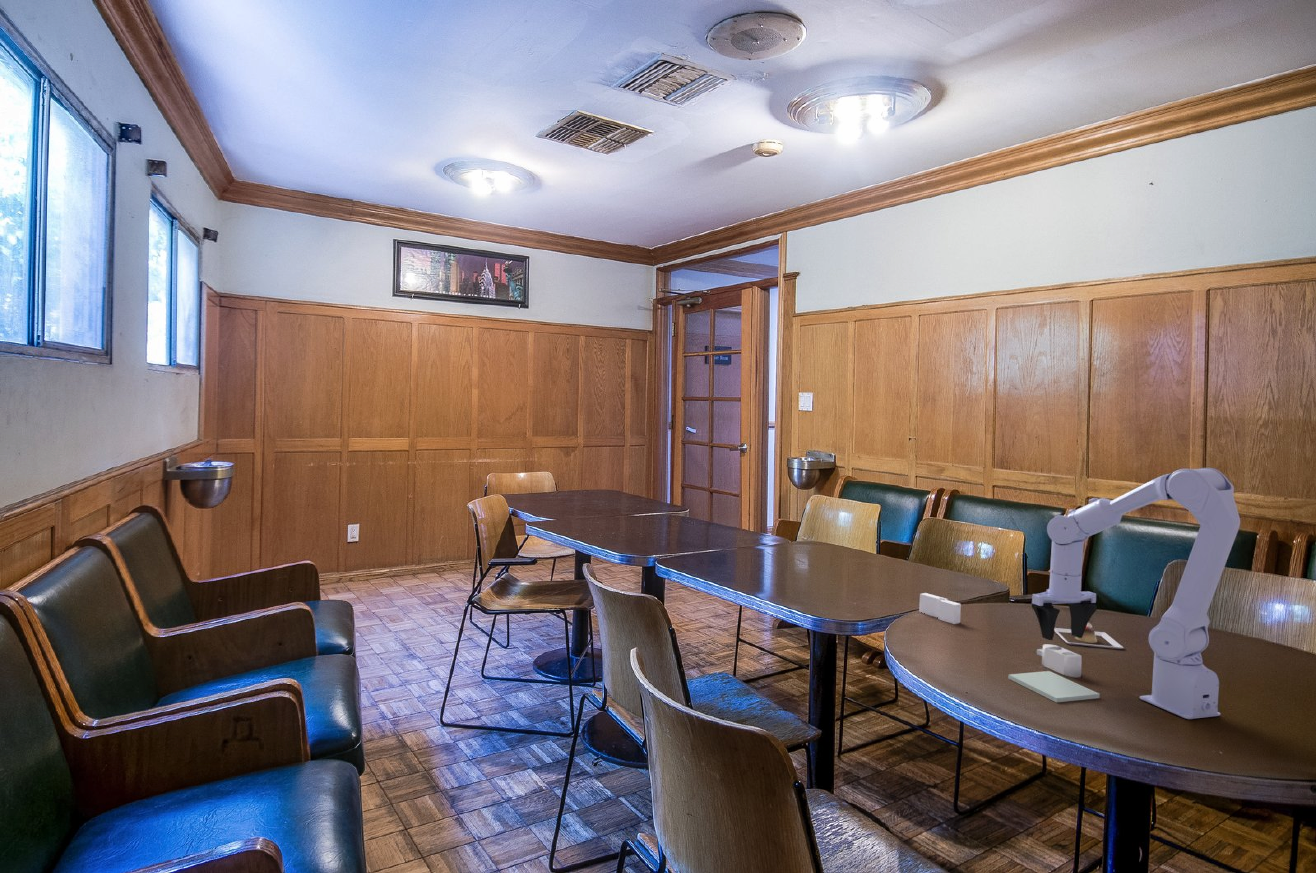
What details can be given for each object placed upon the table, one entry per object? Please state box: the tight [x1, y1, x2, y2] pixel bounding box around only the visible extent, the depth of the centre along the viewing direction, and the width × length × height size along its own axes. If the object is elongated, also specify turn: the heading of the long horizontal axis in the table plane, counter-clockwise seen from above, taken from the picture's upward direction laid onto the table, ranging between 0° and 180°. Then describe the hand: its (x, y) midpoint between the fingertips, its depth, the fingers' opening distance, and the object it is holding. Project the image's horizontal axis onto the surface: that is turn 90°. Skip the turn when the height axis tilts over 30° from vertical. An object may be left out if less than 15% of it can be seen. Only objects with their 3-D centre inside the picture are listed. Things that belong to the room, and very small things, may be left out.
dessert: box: [1054, 621, 1125, 650], centre depth 171 cm, size 12×12×5 cm
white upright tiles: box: [918, 592, 962, 625], centre depth 186 cm, size 15×11×6 cm
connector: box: [1036, 643, 1083, 678], centre depth 151 cm, size 10×4×4 cm, turn 16°
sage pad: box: [1007, 670, 1101, 703], centre depth 140 cm, size 12×10×1 cm
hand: (1062, 637), depth 150 cm, fingers open, 7 cm apart
